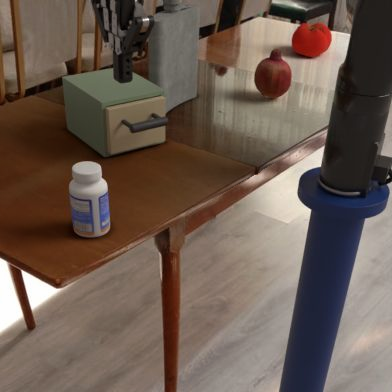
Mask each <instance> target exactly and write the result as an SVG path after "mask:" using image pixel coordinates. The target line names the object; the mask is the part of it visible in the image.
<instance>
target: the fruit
mask: <svg viewBox="0 0 392 392" xmlns="http://www.w3.org/2000/svg"><path fill="white" fill-rule="evenodd" d="M292 78H293V75H292V69H291V66H290V64H289V62H287V60H286V61H285V59H283V53H282V51H281V50H280V49H279V48H278V49H277V48H273V49H272V50H271V52H270V53H269V57H266V58H263V59H261V60H260V62H258V64H257V65H256V67H255V71H254V75H253V83H254V85H255V88H256V90H257V91H258V92H259V93H260V94H261V95H262V96H264V97H266V98H268V99H277V98H280V97H282V96H283V95H285V94H286V93H287V92H288V91H289V89H290V87H291V86H292Z"/></svg>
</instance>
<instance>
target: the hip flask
mask: <svg viewBox="0 0 392 392" xmlns="http://www.w3.org/2000/svg"><path fill="white" fill-rule="evenodd" d="M182 1H183V0H162V3H163V9H164V10H161V11H158V12H156V13H154V14H152V16H153V17H154V20H155V24H154V26H153V28H152V30H151V32H150V35H149V37H148V39H147V43H148V44H147V45H148V47H147V49H148V50H147V51H148V81H150V82H151V83H153V84H155V85H157V86H159V87H160V88H162V89H164V90H165V94H164V95H165V98H166V102H165V115H166V114H167V113H168V112H169V111H171V110H172V109H174V108H175V107H177V106H179V105H181V104H183V103H185V102H187V101H189V100H193V99H195V98H197V93H198V69H199V68H198V67H199V43H200V42H199V41H200V18H201V17H200V16H201V15H200V14H201V13H200V12H201V5H200V4H198V3H182Z"/></svg>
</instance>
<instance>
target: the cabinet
mask: <svg viewBox="0 0 392 392" xmlns="http://www.w3.org/2000/svg"><path fill="white" fill-rule="evenodd" d="M61 80H62V91H63V100H64V101H63V102H64V110H65V120H66V129H67V130H68V131H69V132H70V133H72V134H73V135H74V136H76V137H77V138H78V139H80V140H81V141H82V142H84V143H85V144H87V145H88V146H89V147H90V148H92V149H93V150H94V151H95V152H97V153H98V154H100V155H101V156H102V157H103V158H108V157H112V156H116V155H120V154H125V153H128V152H132V151H136V150H139V149H143V148H147V147H152V146H156V145H160V144H164V143H165V141H162V142H158V143H154V144H150V145H146V146H142V147H138V148H134V149H130V150H126V151H122V152H118V153H114V154H110V153H109V152H108V148H107V131H106V113H105V108H106V106H111V105H115V104H120V103H125V102H130V101H135V100H139V99H144V98H149V97H158V96H163V97H165V95H164V94H165V90H164V89H162V88H160V87H159V86H157V85H155V84H153V83H151V82H150V81H149V79H146V78H145V77H143V76H141V75H139V74H137V73H135V72H134V71H133V79H132V81H131V82H128V83H122V84H121V83H119V82H117V81H116V80H114V77H113V67H110V68H105V69H99V70H93V71H87V72H82V73H75V74H70V75H65V76H62V77H61Z"/></svg>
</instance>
